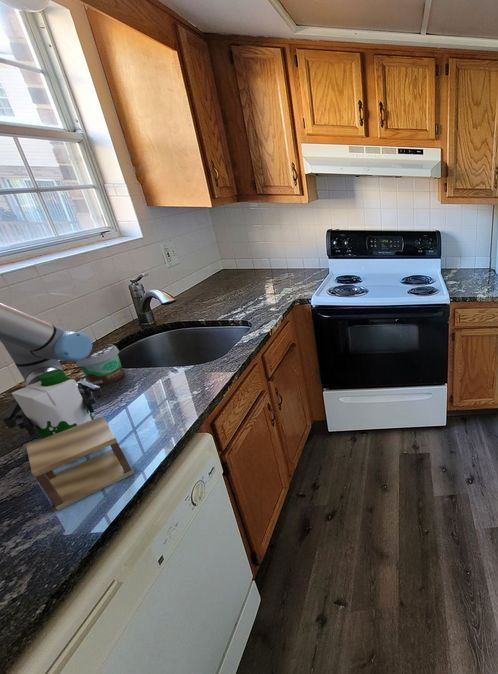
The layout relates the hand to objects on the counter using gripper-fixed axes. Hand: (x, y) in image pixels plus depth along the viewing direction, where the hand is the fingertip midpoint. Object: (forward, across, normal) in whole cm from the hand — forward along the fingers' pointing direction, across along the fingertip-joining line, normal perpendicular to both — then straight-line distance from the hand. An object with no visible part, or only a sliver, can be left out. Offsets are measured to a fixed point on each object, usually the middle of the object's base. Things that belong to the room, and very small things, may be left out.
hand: (61, 418), depth 82 cm
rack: (+10, 0, -12) cm, 15 cm away
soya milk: (-4, 0, -11) cm, 12 cm away
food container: (-42, -14, -12) cm, 46 cm away
